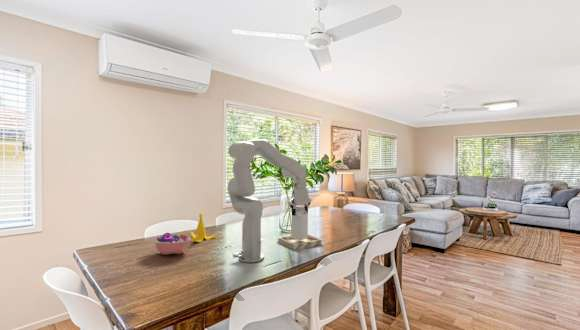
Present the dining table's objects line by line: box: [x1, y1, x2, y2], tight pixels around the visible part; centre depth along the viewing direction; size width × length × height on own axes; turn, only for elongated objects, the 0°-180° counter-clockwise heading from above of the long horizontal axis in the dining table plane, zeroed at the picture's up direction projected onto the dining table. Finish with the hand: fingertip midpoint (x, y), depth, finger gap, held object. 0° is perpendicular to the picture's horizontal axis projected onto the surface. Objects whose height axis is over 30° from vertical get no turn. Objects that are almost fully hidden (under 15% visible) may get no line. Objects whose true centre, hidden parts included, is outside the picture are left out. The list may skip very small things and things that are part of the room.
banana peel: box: [189, 213, 219, 243], centre depth 179 cm, size 17×19×17 cm
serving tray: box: [277, 234, 323, 251], centre depth 171 cm, size 20×18×3 cm
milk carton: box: [291, 206, 309, 240], centre depth 170 cm, size 7×7×19 cm
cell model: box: [153, 232, 193, 256], centre depth 151 cm, size 17×20×11 cm
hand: (299, 214), depth 170 cm, fingers closed on milk carton, 8 cm apart
